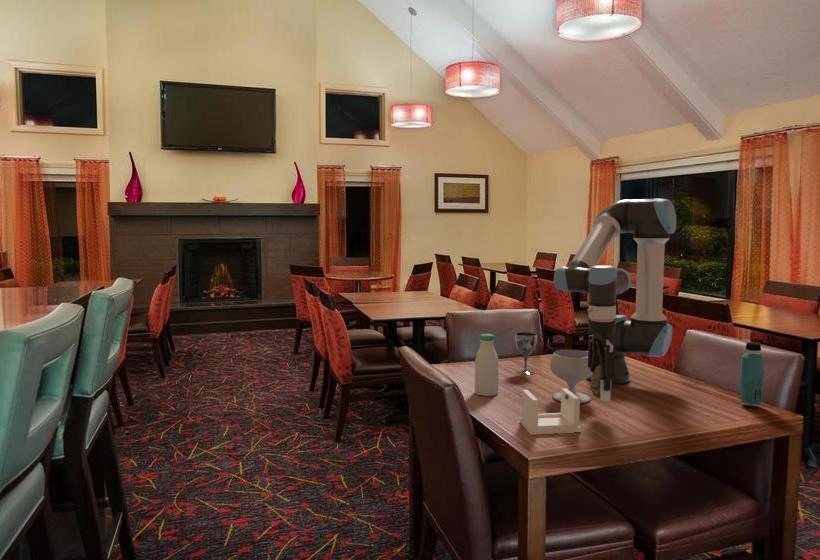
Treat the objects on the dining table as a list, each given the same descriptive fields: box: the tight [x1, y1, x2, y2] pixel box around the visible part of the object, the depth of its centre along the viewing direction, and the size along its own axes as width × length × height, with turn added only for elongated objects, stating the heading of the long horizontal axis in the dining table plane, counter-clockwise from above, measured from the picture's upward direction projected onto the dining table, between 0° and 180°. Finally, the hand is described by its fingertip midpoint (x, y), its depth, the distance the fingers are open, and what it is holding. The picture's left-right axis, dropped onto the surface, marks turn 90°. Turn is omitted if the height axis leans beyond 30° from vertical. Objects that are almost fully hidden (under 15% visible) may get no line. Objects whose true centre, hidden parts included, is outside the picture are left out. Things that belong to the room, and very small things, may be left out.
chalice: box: [549, 349, 592, 404], centre depth 192 cm, size 14×14×15 cm
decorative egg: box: [590, 365, 613, 399], centre depth 174 cm, size 6×6×10 cm
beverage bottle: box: [738, 341, 765, 406], centre depth 183 cm, size 6×7×20 cm
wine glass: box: [514, 331, 538, 376], centre depth 225 cm, size 8×8×15 cm
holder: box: [519, 387, 582, 436], centre depth 166 cm, size 14×10×10 cm
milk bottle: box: [474, 333, 499, 397], centre depth 198 cm, size 8×8×20 cm
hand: (600, 397), depth 174 cm, fingers closed on decorative egg, 6 cm apart
